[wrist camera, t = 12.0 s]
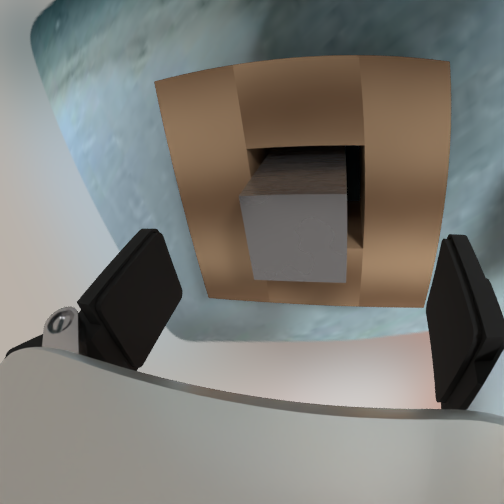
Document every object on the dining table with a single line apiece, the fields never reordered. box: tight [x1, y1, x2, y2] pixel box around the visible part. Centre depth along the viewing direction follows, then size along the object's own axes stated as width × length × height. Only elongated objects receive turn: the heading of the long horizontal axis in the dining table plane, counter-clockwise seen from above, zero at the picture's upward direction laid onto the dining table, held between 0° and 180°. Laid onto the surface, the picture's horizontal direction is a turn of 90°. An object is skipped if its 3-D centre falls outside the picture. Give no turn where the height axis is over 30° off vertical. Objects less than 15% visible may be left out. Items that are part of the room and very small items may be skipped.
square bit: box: [239, 145, 347, 283], centre depth 16 cm, size 4×4×10 cm
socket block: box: [154, 55, 451, 308], centre depth 18 cm, size 14×14×6 cm
